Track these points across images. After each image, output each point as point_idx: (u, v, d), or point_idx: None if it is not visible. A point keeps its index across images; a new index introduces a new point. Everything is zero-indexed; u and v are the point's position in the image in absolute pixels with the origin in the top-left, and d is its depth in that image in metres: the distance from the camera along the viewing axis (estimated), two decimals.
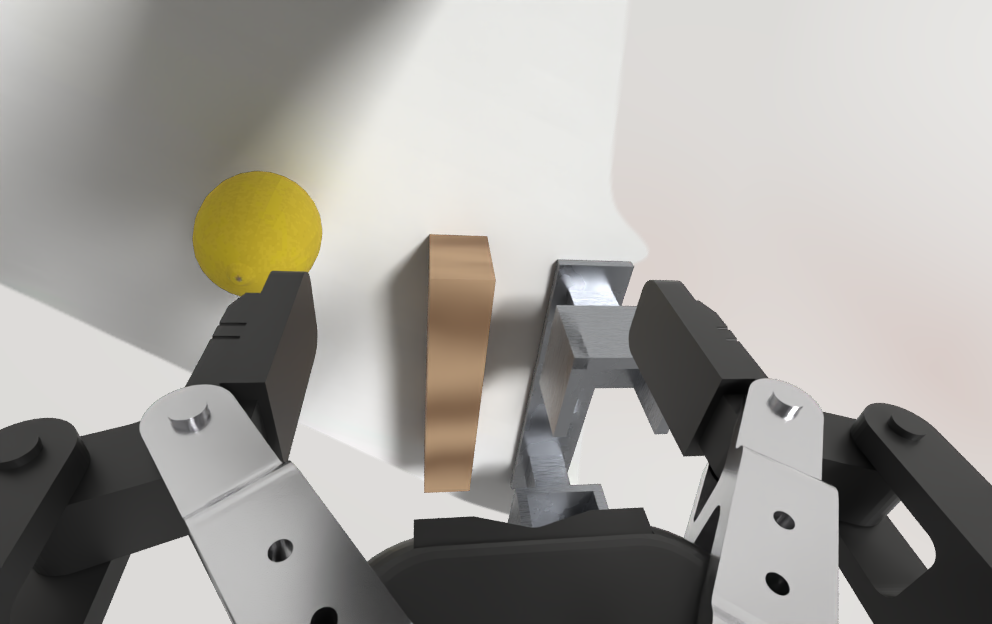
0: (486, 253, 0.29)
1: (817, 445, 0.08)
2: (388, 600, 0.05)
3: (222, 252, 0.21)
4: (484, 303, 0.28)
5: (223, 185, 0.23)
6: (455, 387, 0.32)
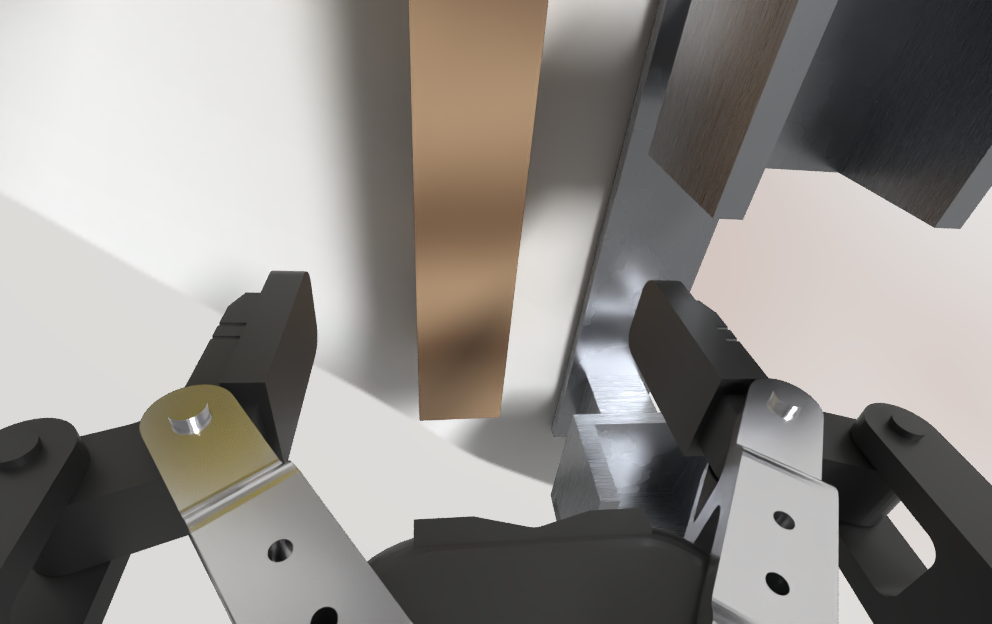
0: None
1: (817, 445, 0.08)
2: (388, 600, 0.05)
3: None
4: None
5: None
6: (474, 155, 0.15)
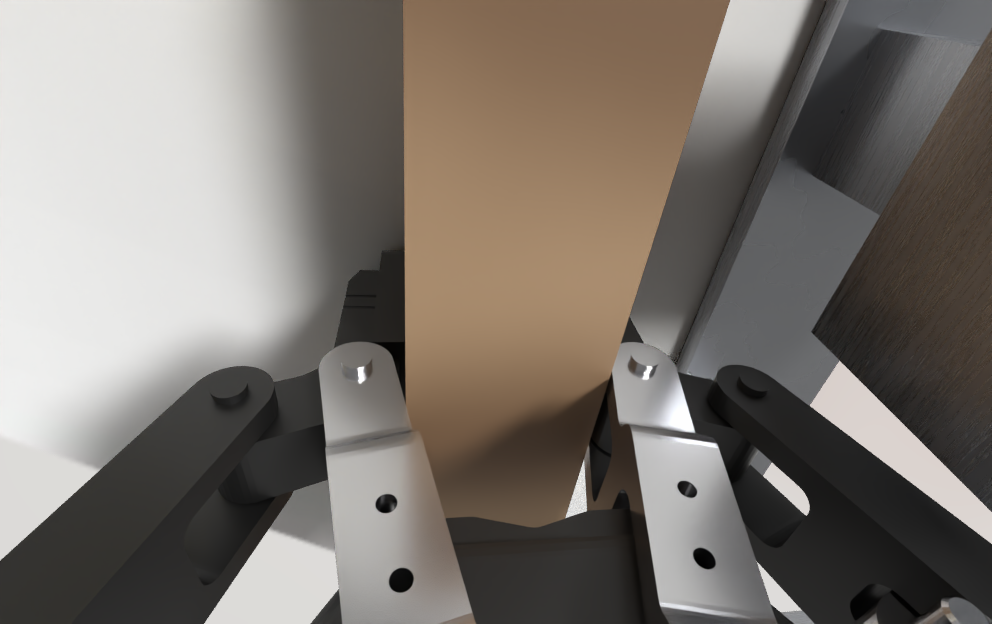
0: None
1: (660, 399, 0.08)
2: (459, 587, 0.05)
3: None
4: None
5: None
6: (518, 356, 0.08)
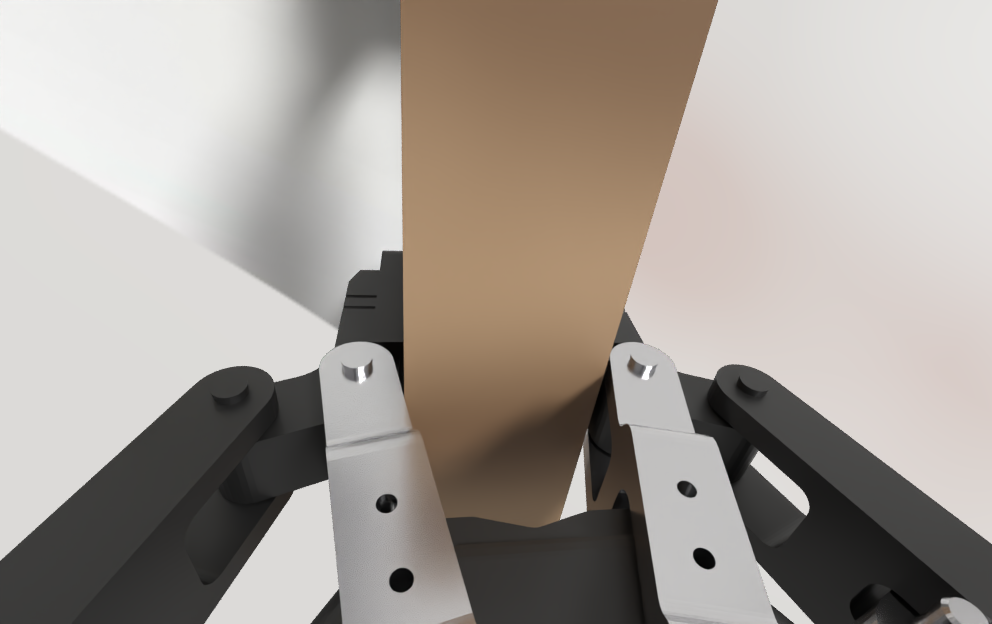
0: None
1: (659, 399, 0.08)
2: (460, 588, 0.05)
3: None
4: None
5: None
6: (514, 351, 0.08)
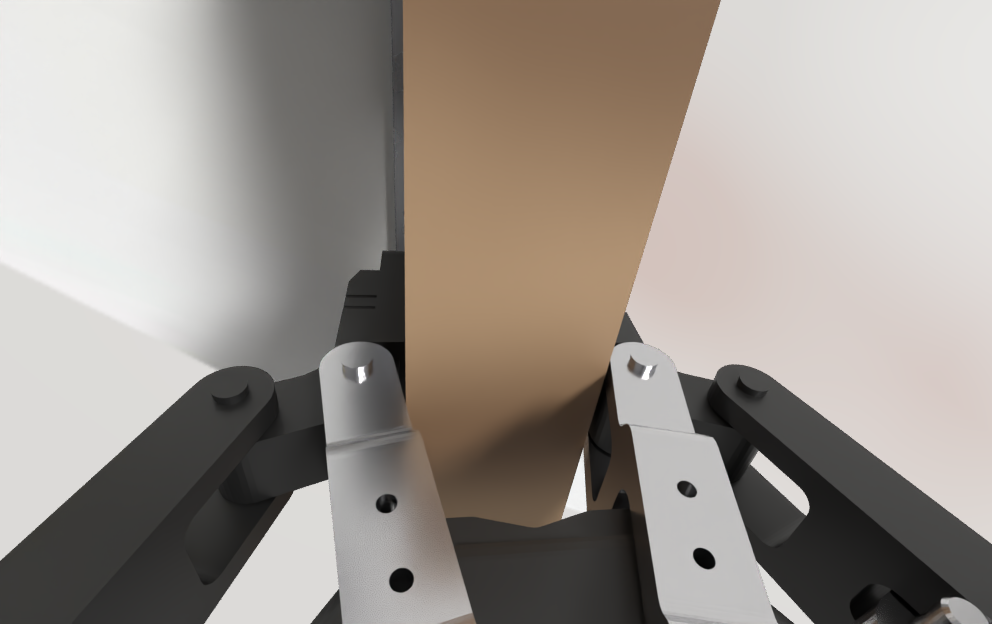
0: None
1: (660, 399, 0.08)
2: (459, 588, 0.05)
3: None
4: None
5: None
6: (515, 352, 0.08)
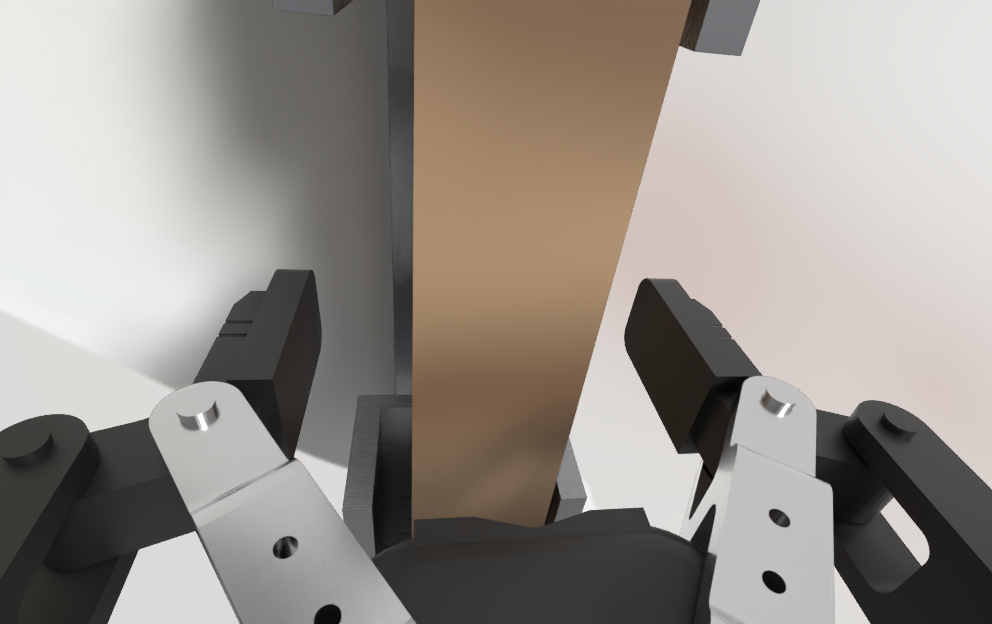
0: None
1: (809, 442, 0.08)
2: (391, 599, 0.05)
3: None
4: None
5: None
6: (513, 315, 0.09)
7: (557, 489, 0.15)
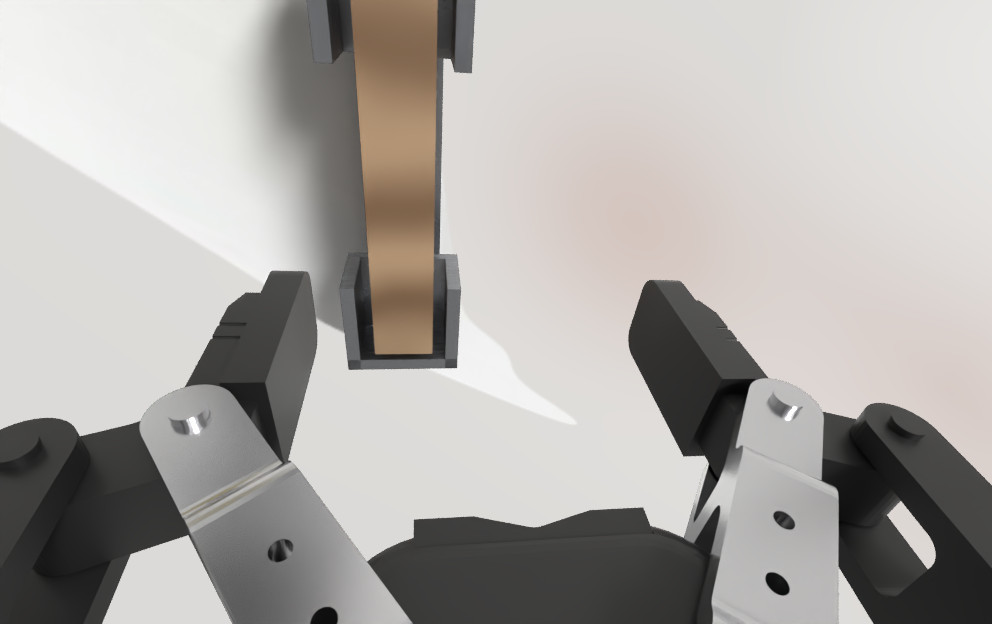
0: None
1: (817, 445, 0.08)
2: (388, 600, 0.05)
3: None
4: (426, 12, 0.21)
5: None
6: (400, 169, 0.24)
7: (447, 287, 0.30)
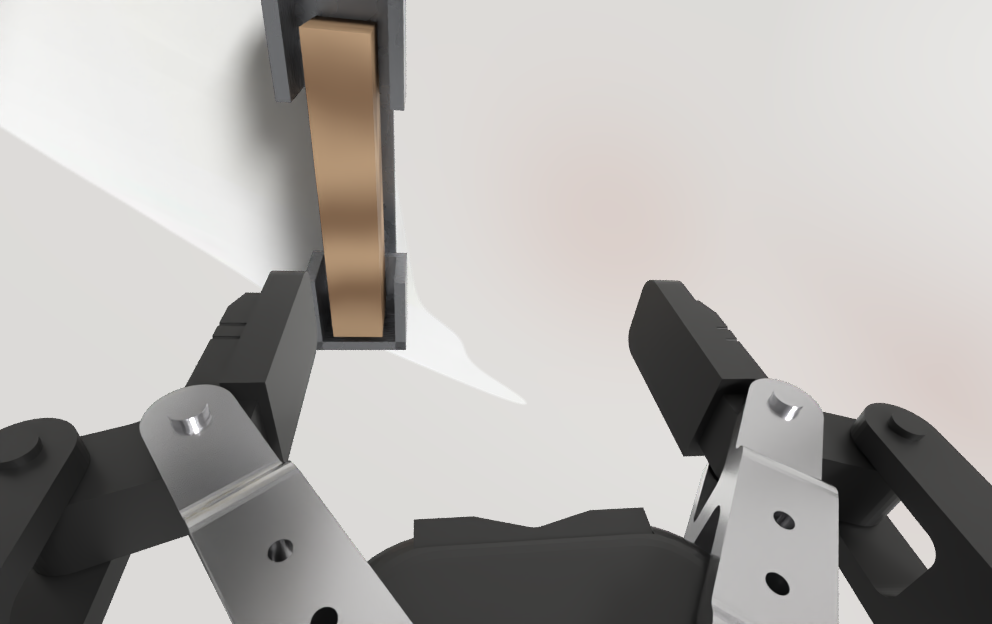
0: (369, 26, 0.28)
1: (817, 445, 0.08)
2: (388, 600, 0.05)
3: None
4: (362, 66, 0.26)
5: None
6: (347, 186, 0.30)
7: (394, 281, 0.36)
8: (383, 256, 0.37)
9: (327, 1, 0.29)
